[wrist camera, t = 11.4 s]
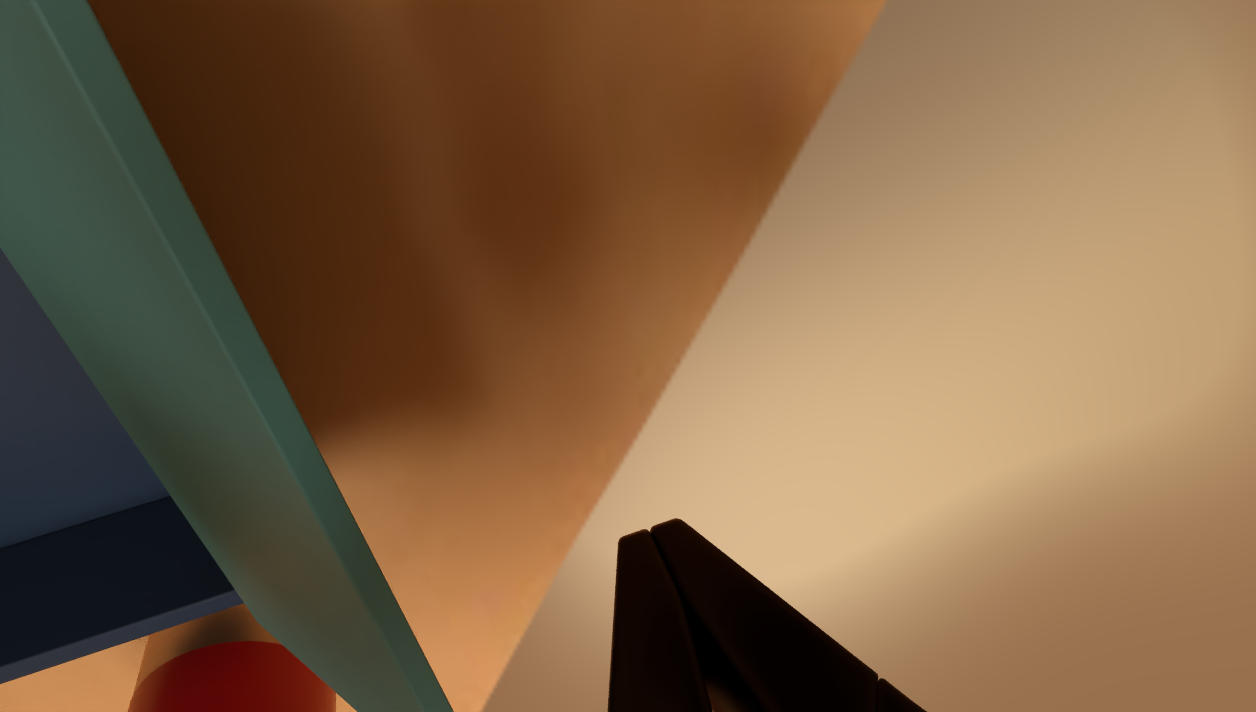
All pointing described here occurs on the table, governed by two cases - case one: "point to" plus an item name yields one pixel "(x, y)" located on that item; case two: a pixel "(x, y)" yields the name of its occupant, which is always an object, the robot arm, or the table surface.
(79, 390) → the dark blue open box
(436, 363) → the table surface
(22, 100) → the lid
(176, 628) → the can
